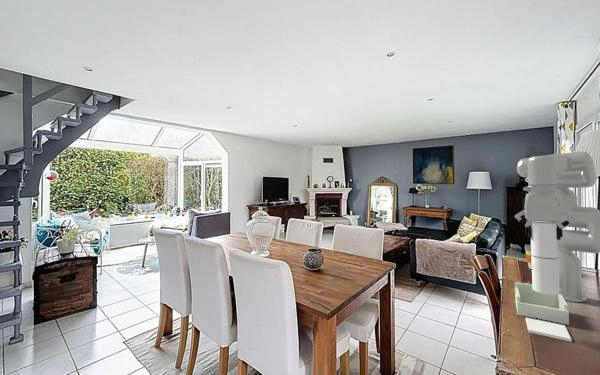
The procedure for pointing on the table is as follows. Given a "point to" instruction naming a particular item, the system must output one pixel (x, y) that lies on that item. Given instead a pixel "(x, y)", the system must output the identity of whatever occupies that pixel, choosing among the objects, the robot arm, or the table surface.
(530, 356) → the table surface
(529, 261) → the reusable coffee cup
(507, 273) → the table surface
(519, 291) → the frame
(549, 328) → the tile
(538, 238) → the cylindrical container
